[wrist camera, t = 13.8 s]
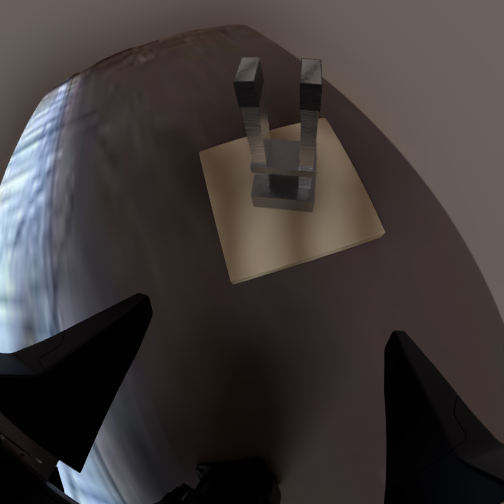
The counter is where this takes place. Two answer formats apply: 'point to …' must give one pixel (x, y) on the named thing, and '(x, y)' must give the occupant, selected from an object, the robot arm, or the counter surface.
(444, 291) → the counter surface
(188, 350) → the counter surface
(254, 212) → the plate
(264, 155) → the two-prong grey stand
